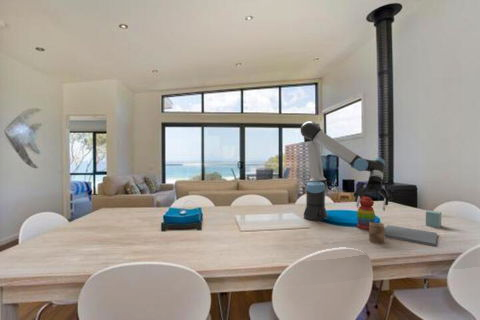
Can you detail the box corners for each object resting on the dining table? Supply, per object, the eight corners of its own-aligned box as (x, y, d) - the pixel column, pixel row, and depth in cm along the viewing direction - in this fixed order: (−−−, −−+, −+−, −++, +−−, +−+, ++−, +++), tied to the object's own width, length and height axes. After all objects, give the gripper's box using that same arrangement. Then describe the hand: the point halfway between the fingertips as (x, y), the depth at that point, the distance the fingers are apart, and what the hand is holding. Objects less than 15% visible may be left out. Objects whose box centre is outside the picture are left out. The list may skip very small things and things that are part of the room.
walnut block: (369, 241, 116) (370, 225, 116) (369, 238, 121) (369, 222, 121) (384, 243, 113) (384, 226, 113) (383, 239, 119) (383, 223, 118)
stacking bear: (380, 230, 133) (380, 198, 132) (362, 230, 133) (362, 198, 133) (370, 225, 144) (370, 195, 143) (353, 225, 144) (353, 195, 143)
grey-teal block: (425, 225, 143) (425, 211, 143) (428, 223, 147) (428, 210, 146) (438, 227, 138) (438, 213, 138) (441, 225, 142) (441, 212, 142)
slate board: (380, 235, 124) (380, 233, 124) (387, 227, 139) (387, 224, 139) (435, 246, 110) (435, 243, 110) (436, 235, 125) (436, 232, 125)
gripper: (400, 184, 144) (396, 214, 133) (355, 181, 160) (348, 208, 149) (399, 176, 140) (395, 206, 129) (352, 174, 156) (345, 201, 145)
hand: (370, 207), depth 139 cm, fingers open, 13 cm apart
